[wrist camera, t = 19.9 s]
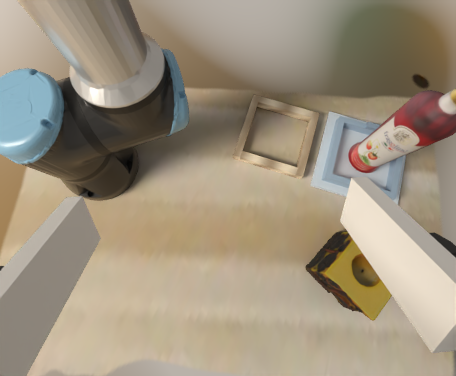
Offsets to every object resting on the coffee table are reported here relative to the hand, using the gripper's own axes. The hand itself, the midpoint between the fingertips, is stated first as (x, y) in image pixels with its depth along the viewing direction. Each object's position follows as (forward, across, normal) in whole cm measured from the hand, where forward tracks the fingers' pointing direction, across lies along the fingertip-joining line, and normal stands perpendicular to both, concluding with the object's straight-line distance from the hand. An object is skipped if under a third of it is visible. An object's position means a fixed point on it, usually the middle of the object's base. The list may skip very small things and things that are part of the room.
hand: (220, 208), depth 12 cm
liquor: (+36, +30, -17) cm, 50 cm away
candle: (+21, +22, -32) cm, 45 cm away
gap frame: (+41, +13, -12) cm, 45 cm away
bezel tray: (+36, +30, -17) cm, 50 cm away
